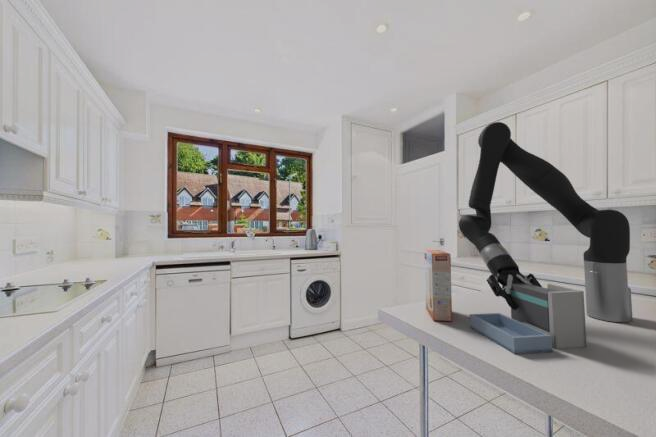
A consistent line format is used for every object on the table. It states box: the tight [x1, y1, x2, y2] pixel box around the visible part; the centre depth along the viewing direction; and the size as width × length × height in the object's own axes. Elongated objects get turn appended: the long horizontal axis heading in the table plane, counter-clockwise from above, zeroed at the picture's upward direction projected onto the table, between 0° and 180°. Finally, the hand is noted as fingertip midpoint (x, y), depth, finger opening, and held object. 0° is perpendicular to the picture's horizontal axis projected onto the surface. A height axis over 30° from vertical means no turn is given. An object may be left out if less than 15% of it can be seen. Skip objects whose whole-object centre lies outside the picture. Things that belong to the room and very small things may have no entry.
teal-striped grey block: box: [510, 283, 556, 333], centre depth 72 cm, size 5×12×12 cm, turn 4°
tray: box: [468, 312, 553, 355], centre depth 69 cm, size 9×17×4 cm, turn 5°
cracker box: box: [424, 249, 453, 322], centre depth 88 cm, size 14×6×21 cm, turn 168°
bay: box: [523, 283, 587, 350], centre depth 67 cm, size 8×9×13 cm
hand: (530, 307), depth 74 cm, fingers open, 7 cm apart
